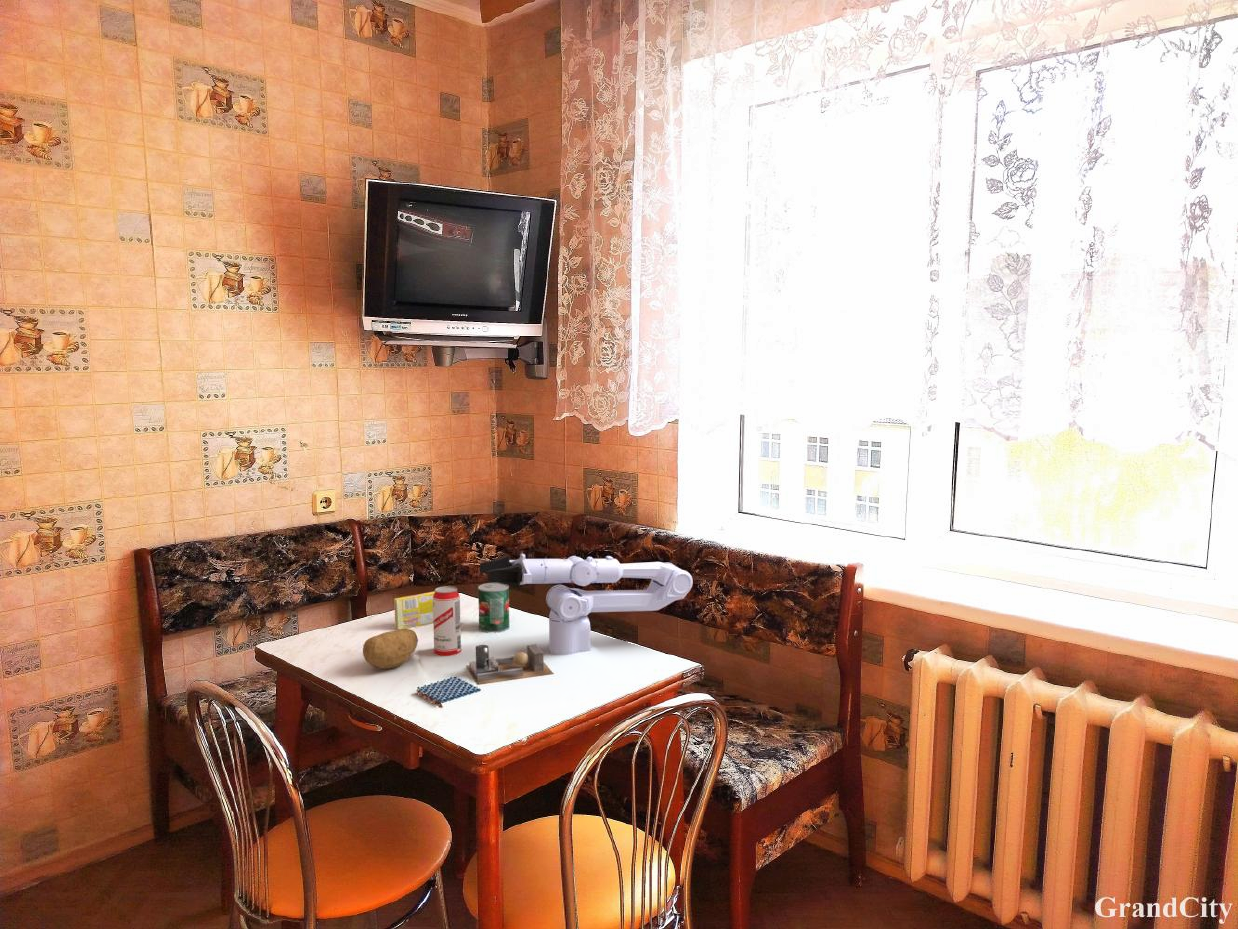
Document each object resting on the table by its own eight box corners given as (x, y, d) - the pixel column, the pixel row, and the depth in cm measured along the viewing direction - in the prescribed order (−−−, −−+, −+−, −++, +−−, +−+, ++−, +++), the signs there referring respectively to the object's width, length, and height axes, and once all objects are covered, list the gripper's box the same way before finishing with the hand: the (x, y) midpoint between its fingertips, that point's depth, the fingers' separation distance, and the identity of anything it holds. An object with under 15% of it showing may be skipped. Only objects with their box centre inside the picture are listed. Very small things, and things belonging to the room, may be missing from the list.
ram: (492, 666, 191) (492, 641, 190) (499, 675, 185) (498, 649, 185) (470, 669, 189) (470, 643, 188) (476, 678, 184) (475, 652, 183)
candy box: (452, 617, 230) (451, 587, 229) (455, 619, 229) (455, 589, 228) (394, 628, 221) (393, 597, 220) (397, 631, 219) (396, 599, 218)
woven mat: (456, 683, 186) (455, 674, 185) (483, 697, 178) (483, 688, 178) (413, 696, 179) (412, 686, 178) (440, 711, 171) (440, 701, 171)
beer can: (455, 660, 198) (453, 593, 196) (429, 658, 199) (427, 592, 197) (465, 651, 204) (463, 586, 202) (440, 649, 205) (438, 585, 203)
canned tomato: (515, 627, 222) (515, 586, 220) (492, 634, 216) (491, 592, 215) (495, 621, 227) (495, 580, 226) (472, 628, 221) (471, 587, 220)
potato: (430, 660, 198) (429, 627, 197) (382, 679, 186) (381, 644, 185) (401, 652, 203) (400, 620, 202) (353, 670, 192) (351, 636, 190)
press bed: (538, 660, 198) (538, 639, 197) (554, 678, 187) (553, 656, 186) (465, 670, 192) (465, 648, 191) (477, 689, 181) (476, 666, 180)
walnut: (526, 664, 193) (526, 648, 192) (531, 669, 189) (530, 654, 189) (511, 666, 191) (510, 651, 191) (515, 672, 188) (515, 656, 188)
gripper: (534, 547, 204) (477, 547, 199) (552, 561, 191) (492, 561, 186) (531, 576, 205) (475, 577, 200) (549, 592, 191) (490, 593, 186)
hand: (483, 571), depth 193 cm, fingers open, 7 cm apart
